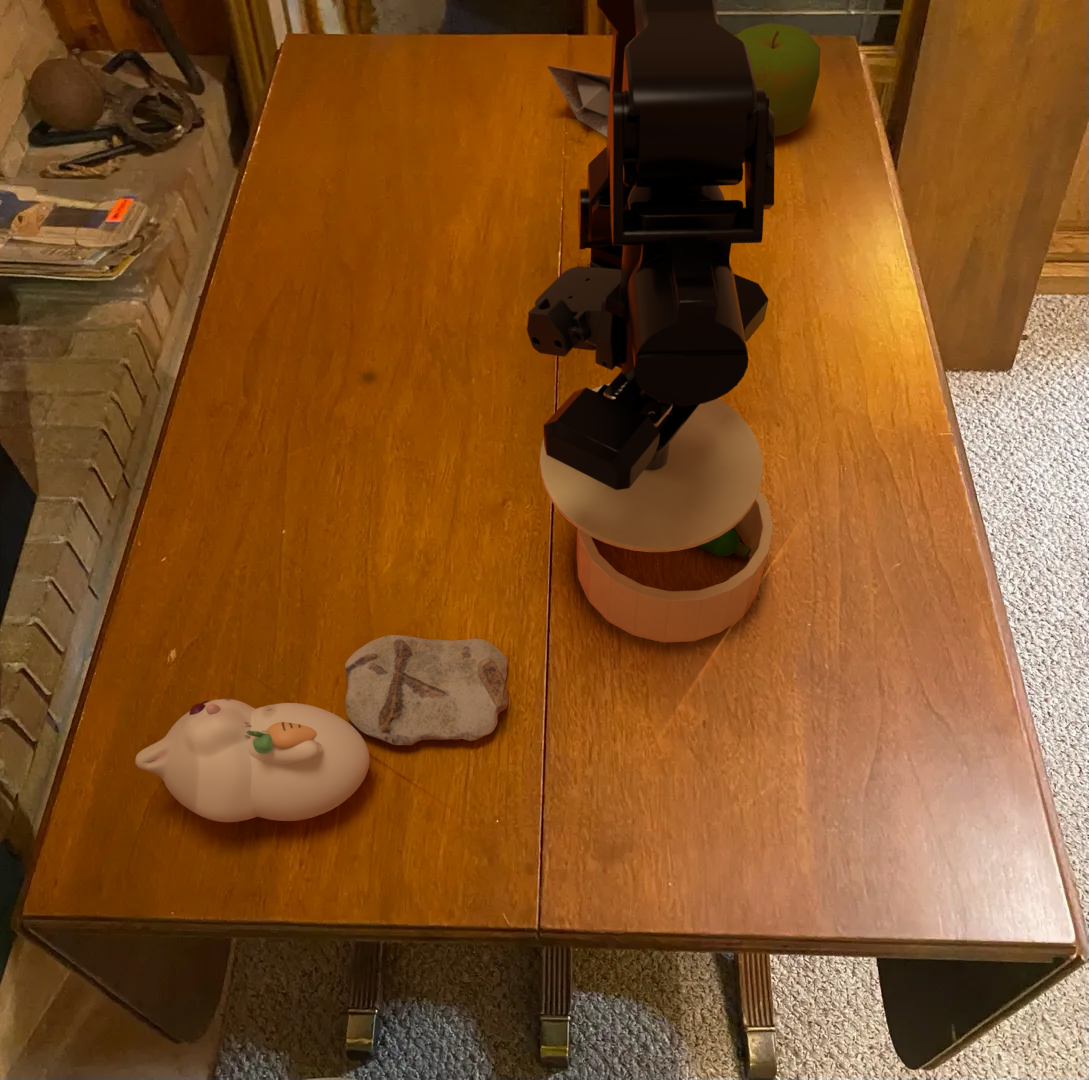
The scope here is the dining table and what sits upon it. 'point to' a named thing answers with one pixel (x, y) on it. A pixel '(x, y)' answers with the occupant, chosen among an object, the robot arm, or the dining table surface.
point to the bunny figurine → (258, 761)
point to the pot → (677, 610)
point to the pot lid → (669, 487)
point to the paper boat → (585, 95)
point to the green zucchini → (726, 545)
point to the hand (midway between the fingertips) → (651, 453)
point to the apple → (784, 71)
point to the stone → (426, 689)
